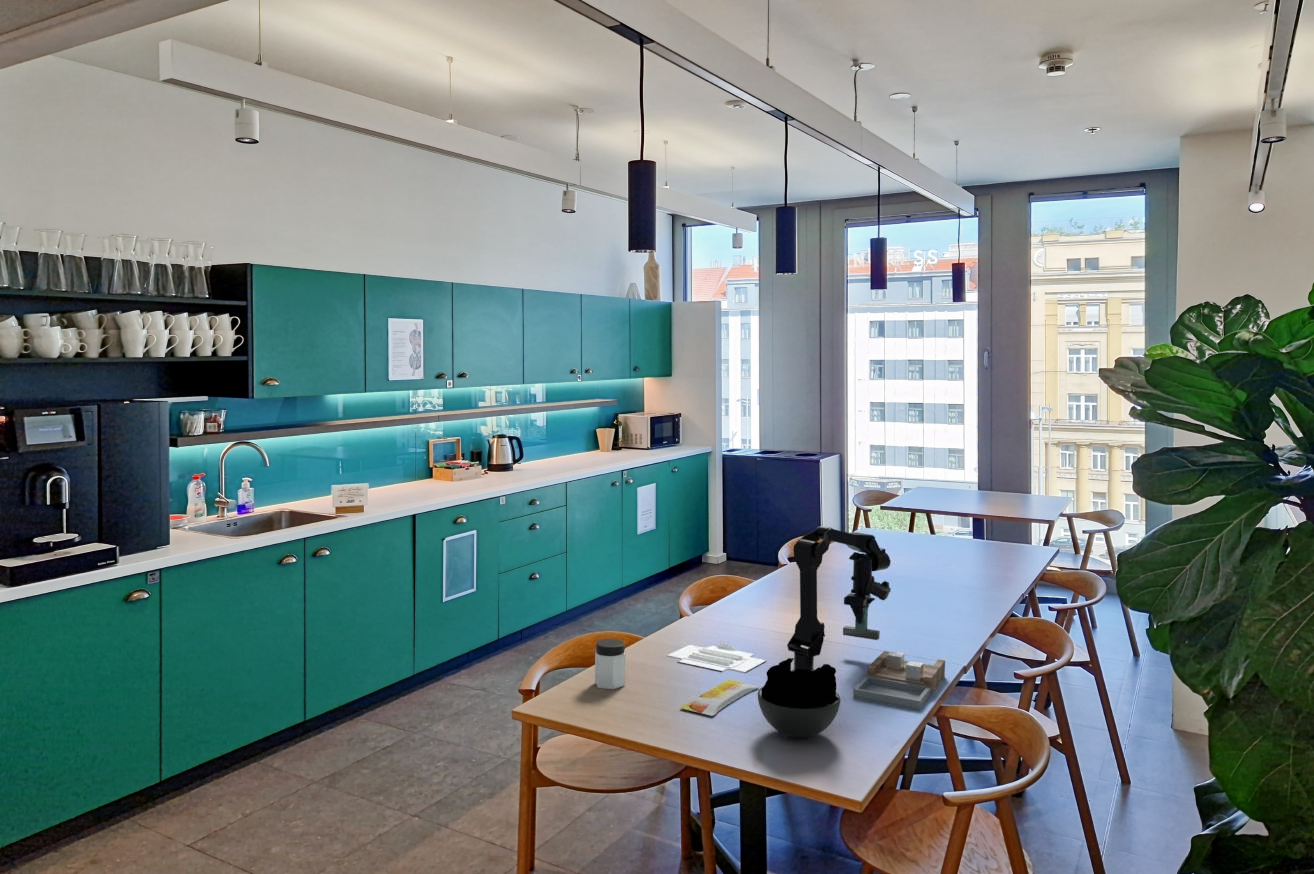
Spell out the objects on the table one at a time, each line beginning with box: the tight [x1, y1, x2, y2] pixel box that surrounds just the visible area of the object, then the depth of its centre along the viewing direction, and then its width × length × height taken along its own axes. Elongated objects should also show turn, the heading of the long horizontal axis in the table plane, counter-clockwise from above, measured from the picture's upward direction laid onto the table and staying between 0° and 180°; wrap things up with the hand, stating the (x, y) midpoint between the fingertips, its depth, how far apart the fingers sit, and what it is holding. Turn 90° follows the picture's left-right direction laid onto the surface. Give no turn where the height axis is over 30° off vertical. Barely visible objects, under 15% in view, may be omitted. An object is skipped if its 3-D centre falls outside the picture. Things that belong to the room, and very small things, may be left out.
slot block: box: [866, 650, 946, 696], centre depth 261 cm, size 18×18×5 cm
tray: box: [666, 641, 767, 674], centre depth 280 cm, size 20×28×4 cm
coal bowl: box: [757, 657, 841, 739], centre depth 219 cm, size 20×20×19 cm
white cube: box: [887, 651, 905, 670], centre depth 263 cm, size 4×4×4 cm
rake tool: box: [842, 607, 881, 641], centre depth 282 cm, size 3×11×9 cm, turn 61°
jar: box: [594, 638, 626, 690], centre depth 254 cm, size 9×8×12 cm
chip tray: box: [852, 675, 932, 711], centre depth 247 cm, size 13×18×2 cm
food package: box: [679, 679, 760, 717], centre depth 244 cm, size 27×2×10 cm
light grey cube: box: [905, 660, 924, 681], centre depth 254 cm, size 4×4×4 cm
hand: (861, 622), depth 282 cm, fingers closed on rake tool, 3 cm apart
